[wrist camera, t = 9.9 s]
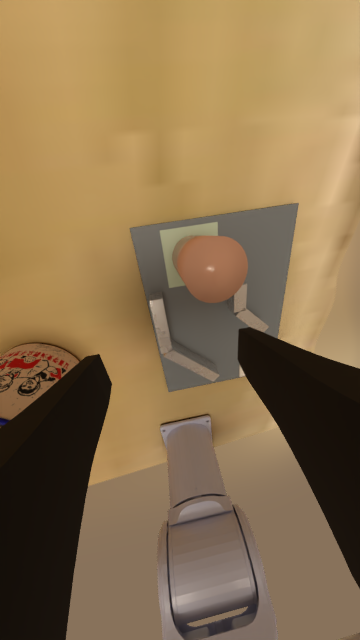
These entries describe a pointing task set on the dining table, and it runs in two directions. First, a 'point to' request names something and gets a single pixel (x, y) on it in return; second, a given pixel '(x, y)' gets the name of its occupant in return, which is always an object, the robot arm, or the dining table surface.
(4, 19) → the dining table surface
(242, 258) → the peg
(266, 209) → the board
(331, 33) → the dining table surface
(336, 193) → the dining table surface
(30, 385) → the teacup with lid
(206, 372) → the rails
